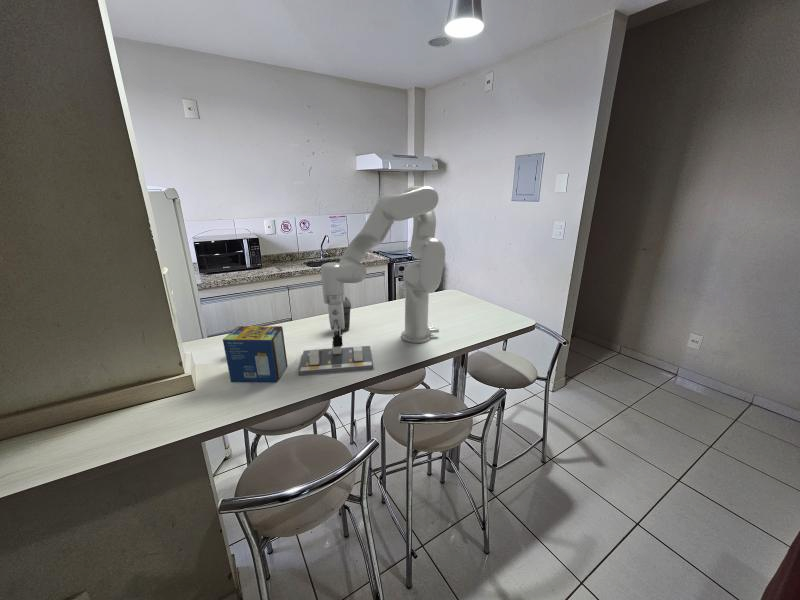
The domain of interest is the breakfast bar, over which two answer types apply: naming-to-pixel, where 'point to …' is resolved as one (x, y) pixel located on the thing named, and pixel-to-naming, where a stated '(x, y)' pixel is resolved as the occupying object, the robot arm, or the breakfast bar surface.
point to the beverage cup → (346, 314)
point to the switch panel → (336, 361)
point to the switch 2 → (358, 354)
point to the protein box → (255, 354)
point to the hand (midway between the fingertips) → (338, 340)
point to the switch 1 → (314, 357)
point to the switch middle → (336, 349)
